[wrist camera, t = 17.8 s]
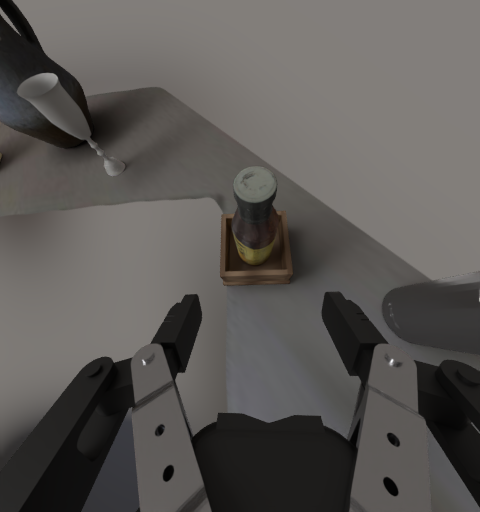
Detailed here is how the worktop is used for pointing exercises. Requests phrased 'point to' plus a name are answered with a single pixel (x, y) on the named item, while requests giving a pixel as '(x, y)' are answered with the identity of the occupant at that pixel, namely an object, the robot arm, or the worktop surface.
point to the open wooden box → (266, 273)
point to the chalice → (63, 112)
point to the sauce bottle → (255, 214)
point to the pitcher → (22, 68)
